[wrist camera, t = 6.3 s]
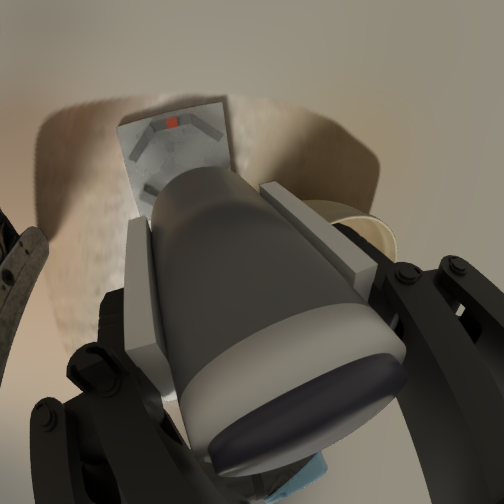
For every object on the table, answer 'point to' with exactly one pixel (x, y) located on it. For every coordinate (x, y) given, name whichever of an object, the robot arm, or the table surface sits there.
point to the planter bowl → (358, 224)
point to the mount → (172, 149)
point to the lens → (261, 329)
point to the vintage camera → (17, 278)
